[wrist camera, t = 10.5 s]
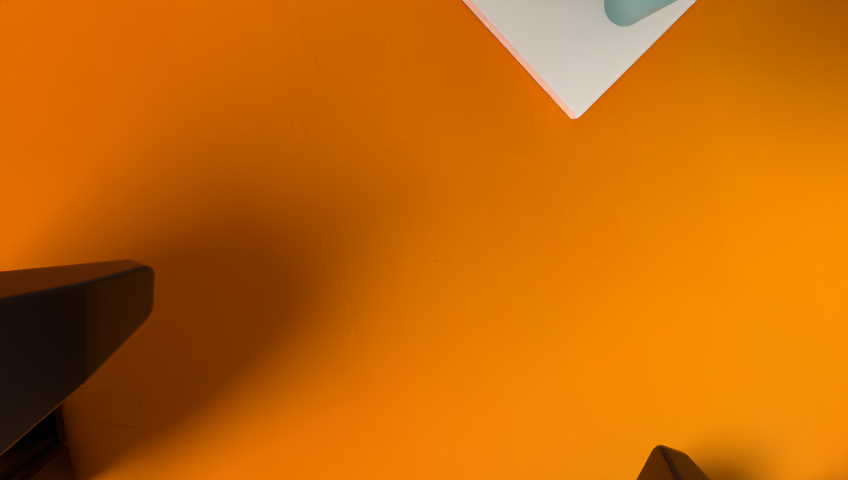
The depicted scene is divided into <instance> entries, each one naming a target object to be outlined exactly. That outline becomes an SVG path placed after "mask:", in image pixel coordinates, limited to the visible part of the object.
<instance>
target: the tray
mask: <svg viewBox="0 0 848 480" xmlns="http://www.w3.org/2000/svg"><path fill="white" fill-rule="evenodd" d="M462 1H463V2H464V3H465V4H466V5H467V6H468V7H469V8H470V9H471V10H472V11H473V13H474V14H475V15H476V16H477V17H478V18H479V19H480V20H481V21H482V22H483V23H484V25H485V26H486V27H487V28H488V29H489V30H490V31H491V32H492V33H493V34H494V35H495V37H496V38H497V39H498V40H499V41H500V42H501V43H502V44H503V45H504V46H505V47H506V49H507V50H508V51H509V52H510V53H511V54H512V55H513V56H514V57H515V58H516V59H517V61H518V62H519V63H520V64H521V65H522V66H523V67H524V68H525V69H526V70H527V71H528V73H529V74H530V75H531V76H532V77H533V78H534V79H535V80H536V81H537V82H538V83H539V85H540V86H541V87H542V88H543V89H544V90H545V91H546V92H547V93H548V94H549V95H550V96H551V98H552V99H553V100H554V101H555V102H556V103H557V104H558V105H559V106H560V107H561V108H562V110H563V111H564V112H565V113H566V114H567V115H568V116H569V117H570V118H571V119H576V118H579V117H580V116H581V115H582V114H583V113H584V112H585V111H586V110H587V109H588V108H589V107H590V106H591V105H592V104H593V103H594V102H595V101H596V100H597V99H598V98H599V97H600V96H601V95H602V94H603V93H604V92H605V91H606V90H607V89H608V88H609V87H610V86H611V85H612V84H613V83H614V82H615V81H616V80H617V79H618V78H619V77H620V76H621V75H622V74H623V73H624V72H625V71H626V70H627V69H628V68H629V67H630V66H631V65H632V64H633V63H634V62H635V61H636V60H637V59H638V58H639V57H640V56H641V55H642V54H643V53H644V52H645V51H646V50H647V49H648V48H649V47H650V46H651V45H652V44H653V43H654V42H655V41H656V40H657V39H658V38H659V37H660V36H661V35H662V34H663V33H664V32H665V31H666V30H667V29H668V28H669V27H670V26H671V25H672V24H673V23H674V22H675V21H676V20H677V19H678V18H679V17H680V16H681V15H682V14H683V13H684V12H685V11H686V10H687V9H688V8H689V7H690V6H691V5H692V4H693V3H694V2H695V1H696V0H462Z"/></svg>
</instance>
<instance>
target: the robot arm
mask: <svg viewBox="0 0 848 480" xmlns="http://www.w3.org/2000/svg"><path fill="white" fill-rule="evenodd" d="M153 298H154V271H153V269H152V268H151V267H150V266H149V265H146V264H143V263H140V262H137V261H134V260H118V261H107V262H97V263H86V264H76V265H65V266H55V267H44V268H34V269H23V270H13V271H2V272H0V480H74V478H73V472H72V465H71V459H70V453H69V447H68V445H67V441H66V435H65V429H64V423H63V416H62V410H61V403H62V402H63V401H65V400H66V399H67V398H68V397H69V396H70V395H72V394H73V393H74V392H75V391H76V390H77V389H78V388H80V387H81V386H82V385H83V384H84V383H85V382H86V381H87V380H88V379H89V378H90V377H91V376H92V375H93V374H94V373H95V372H96V371H97V370H98V369H99V368H100V367H101V366H102V365H103V364H104V363H105V362H106V361H107V360H108V359H109V358H110V357H111V356H112V355H113V354H114V353H115V352H116V351H117V350H118V349H119V348H120V347H121V346H122V345H123V344H124V343H125V342H126V341H127V339H128V338H129V337H130V336H131V335H132V334H133V333H134V332H135V331H136V330H137V329H138V328H139V327H140V326H141V325H142V324H143V323H144V322H145V321H146V320H147V319H148V317H149V316H150V314H151V312H152V308H153ZM637 480H710V479H709V478H708V477H707V476H706V474H705V473H704V472H703V471H702V470H701V469H700V468H699V467H698V466H697V465H696V464H695V463H694V462H693V461H692V460H691V458H690V457H689V456H688V455H687V454H685V453H683V452H681V451H678V450H675V449H672V448H669V447H667V446H664V445H658V446H656V447H655V448H654V449H653V450H652V452H651V454H650V456H649V457H648V459H647V461H646V463H645V465H644V467H643V469H642V470H641V472H640V474H639V476H638V478H637Z"/></svg>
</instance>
